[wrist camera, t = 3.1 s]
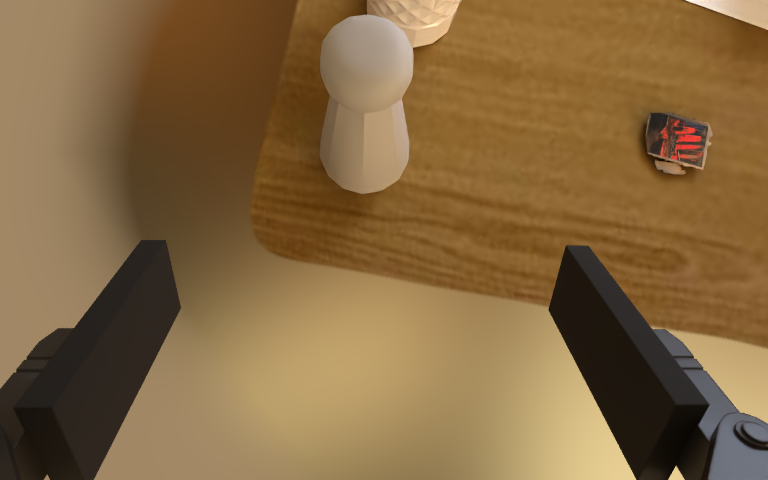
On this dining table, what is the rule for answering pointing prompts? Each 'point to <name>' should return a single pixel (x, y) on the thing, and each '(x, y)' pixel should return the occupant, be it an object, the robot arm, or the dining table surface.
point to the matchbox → (677, 141)
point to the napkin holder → (740, 10)
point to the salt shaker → (365, 103)
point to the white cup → (417, 17)
